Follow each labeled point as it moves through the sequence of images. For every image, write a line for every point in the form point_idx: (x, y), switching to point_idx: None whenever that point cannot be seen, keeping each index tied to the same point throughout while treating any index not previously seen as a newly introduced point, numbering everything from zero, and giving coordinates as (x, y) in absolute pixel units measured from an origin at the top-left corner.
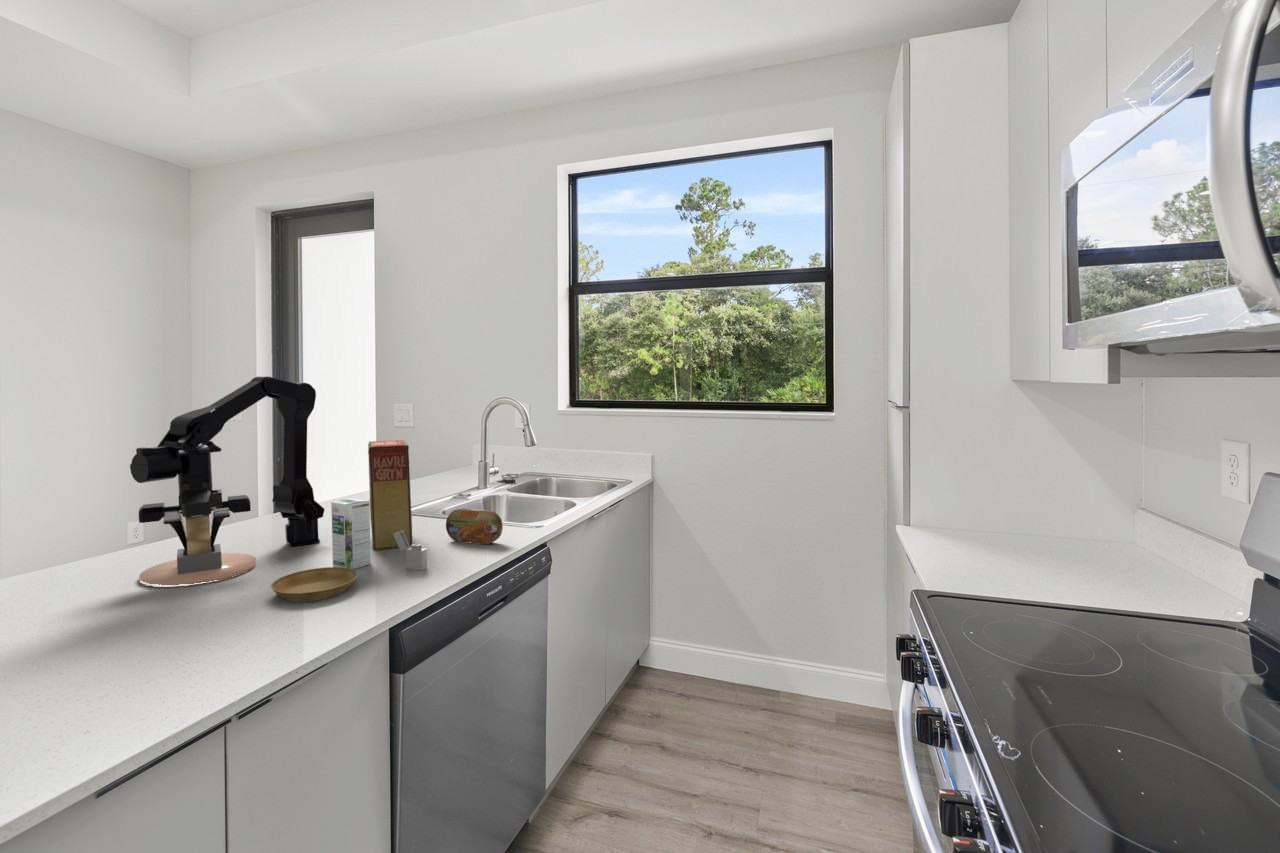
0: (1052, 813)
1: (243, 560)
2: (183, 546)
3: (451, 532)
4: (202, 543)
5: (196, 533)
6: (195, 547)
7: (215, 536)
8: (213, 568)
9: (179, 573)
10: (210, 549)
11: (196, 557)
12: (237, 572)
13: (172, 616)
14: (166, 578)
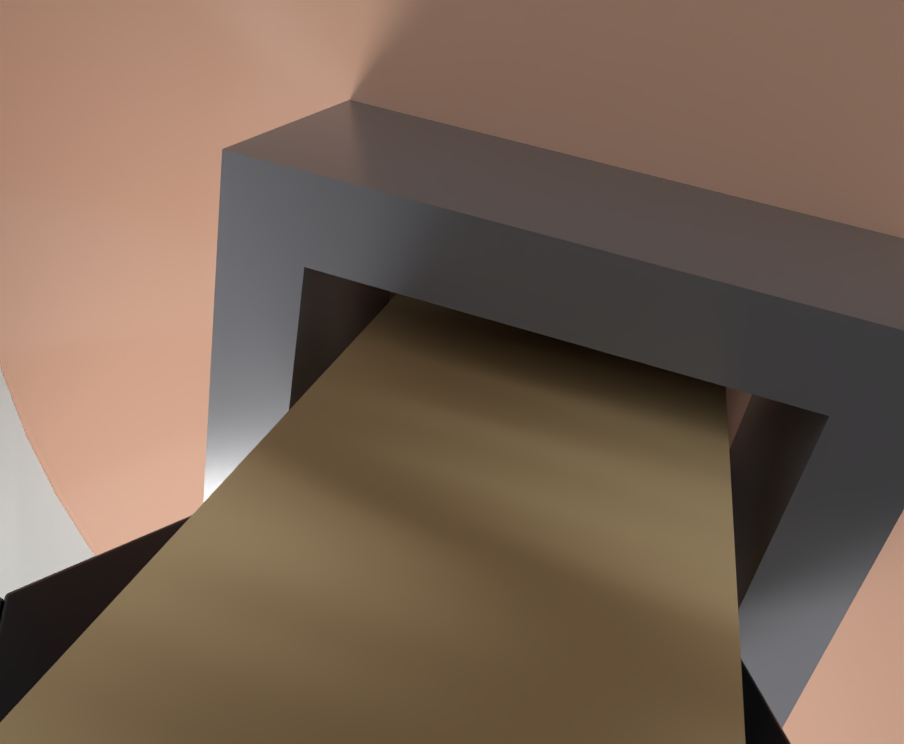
0: None
1: (94, 267)
2: (748, 678)
3: None
4: (429, 473)
5: (466, 722)
6: (579, 471)
7: (126, 555)
8: (445, 131)
9: (887, 236)
10: (351, 359)
11: (635, 243)
12: None
13: None
14: None
